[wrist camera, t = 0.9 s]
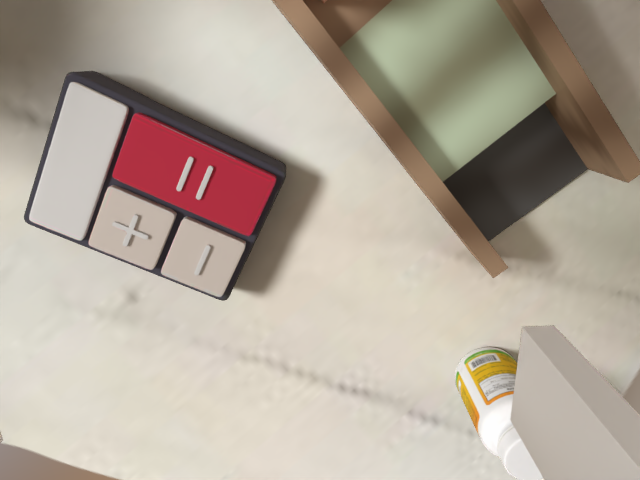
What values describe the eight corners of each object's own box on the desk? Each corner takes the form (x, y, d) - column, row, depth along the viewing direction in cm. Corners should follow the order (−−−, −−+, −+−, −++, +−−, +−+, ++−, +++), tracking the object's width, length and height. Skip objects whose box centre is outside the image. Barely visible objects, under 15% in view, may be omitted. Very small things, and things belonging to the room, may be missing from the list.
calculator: (224, 308, 35) (15, 225, 31) (231, 282, 39) (46, 207, 36) (288, 175, 31) (61, 69, 28) (288, 162, 35) (90, 68, 32)
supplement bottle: (493, 406, 42) (544, 500, 32) (441, 384, 41) (478, 474, 32) (528, 359, 40) (591, 444, 31) (475, 335, 39) (523, 415, 30)
